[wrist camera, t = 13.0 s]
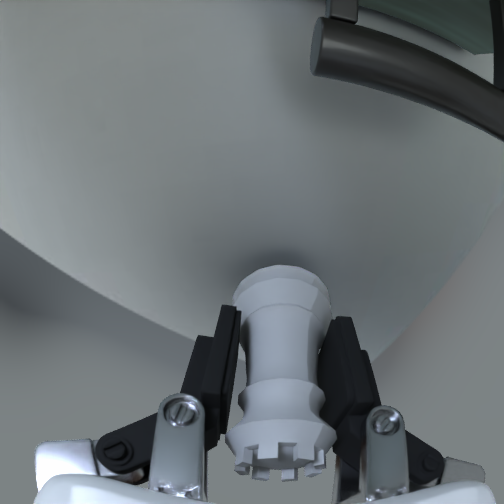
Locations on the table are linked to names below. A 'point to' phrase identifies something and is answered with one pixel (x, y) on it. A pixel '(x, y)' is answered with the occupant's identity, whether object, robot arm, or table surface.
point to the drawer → (418, 55)
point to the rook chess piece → (281, 374)
